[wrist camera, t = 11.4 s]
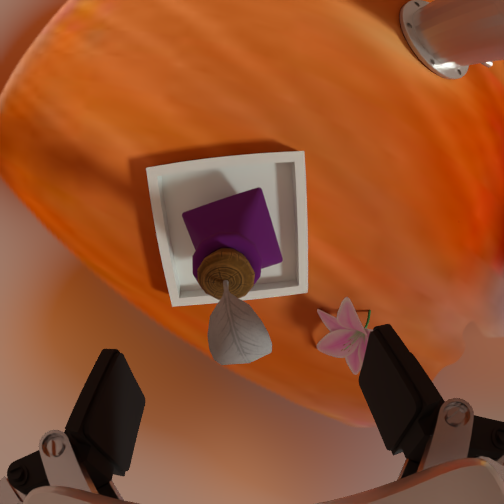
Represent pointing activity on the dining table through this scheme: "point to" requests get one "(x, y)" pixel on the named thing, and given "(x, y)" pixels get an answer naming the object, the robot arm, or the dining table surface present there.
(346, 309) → the lily
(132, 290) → the dining table surface
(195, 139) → the dining table surface
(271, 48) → the dining table surface
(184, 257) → the tray
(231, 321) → the perfume bottle
